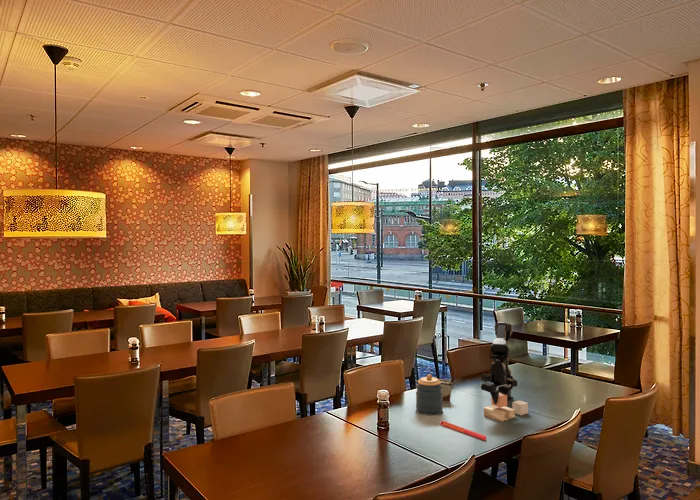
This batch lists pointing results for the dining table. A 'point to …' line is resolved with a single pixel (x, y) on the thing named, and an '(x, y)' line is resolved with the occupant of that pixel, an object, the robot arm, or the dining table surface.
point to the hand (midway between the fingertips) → (499, 403)
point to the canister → (429, 396)
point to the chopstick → (463, 430)
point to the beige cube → (520, 407)
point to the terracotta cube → (500, 401)
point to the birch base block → (499, 412)
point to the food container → (446, 389)
